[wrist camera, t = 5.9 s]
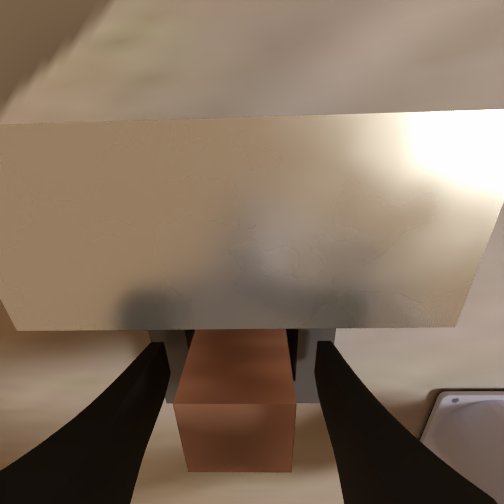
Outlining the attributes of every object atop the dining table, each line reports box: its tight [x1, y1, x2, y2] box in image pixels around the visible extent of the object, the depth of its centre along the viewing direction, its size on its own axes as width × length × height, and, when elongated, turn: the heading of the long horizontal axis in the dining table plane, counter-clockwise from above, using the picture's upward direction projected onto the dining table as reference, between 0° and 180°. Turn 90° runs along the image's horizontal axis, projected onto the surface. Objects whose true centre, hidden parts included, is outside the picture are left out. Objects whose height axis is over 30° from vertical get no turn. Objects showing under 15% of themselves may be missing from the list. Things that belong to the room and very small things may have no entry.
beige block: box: [0, 110, 504, 331], centre depth 10 cm, size 14×6×7 cm, turn 92°
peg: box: [173, 329, 297, 472], centre depth 13 cm, size 4×4×8 cm
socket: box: [149, 328, 336, 403], centre depth 15 cm, size 9×9×4 cm
